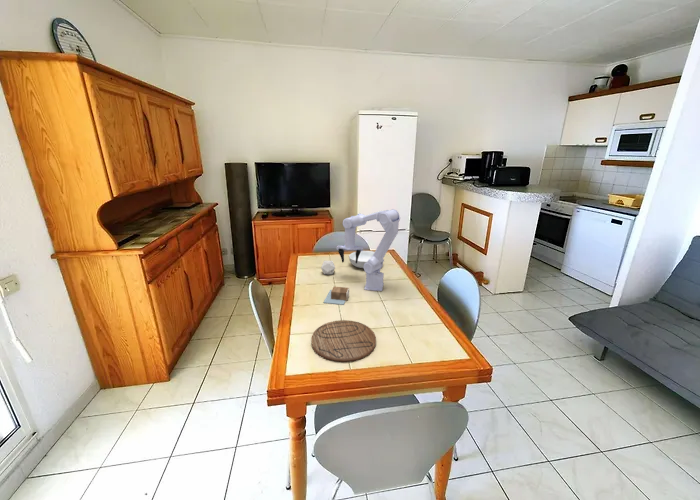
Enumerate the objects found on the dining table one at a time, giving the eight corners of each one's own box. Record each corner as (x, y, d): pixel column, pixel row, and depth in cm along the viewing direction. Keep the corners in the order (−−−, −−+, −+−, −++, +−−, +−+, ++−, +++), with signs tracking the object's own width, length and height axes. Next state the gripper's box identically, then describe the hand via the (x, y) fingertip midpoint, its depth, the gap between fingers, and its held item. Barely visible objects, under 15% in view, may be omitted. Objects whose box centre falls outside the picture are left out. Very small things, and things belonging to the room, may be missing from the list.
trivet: (386, 356, 109) (386, 351, 109) (318, 369, 103) (317, 364, 102) (363, 320, 132) (363, 316, 131) (306, 329, 125) (306, 325, 125)
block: (349, 287, 152) (333, 286, 153) (347, 293, 146) (331, 291, 148) (349, 294, 153) (333, 293, 155) (347, 300, 148) (331, 299, 149)
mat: (348, 292, 157) (348, 291, 157) (343, 304, 144) (343, 304, 144) (330, 290, 159) (330, 289, 159) (323, 303, 146) (323, 302, 146)
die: (329, 278, 175) (338, 264, 175) (317, 270, 175) (325, 256, 175) (330, 277, 183) (338, 264, 184) (318, 270, 183) (326, 257, 184)
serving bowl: (360, 258, 207) (360, 248, 205) (387, 264, 195) (387, 254, 193) (342, 266, 191) (342, 256, 189) (370, 274, 179) (370, 264, 177)
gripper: (335, 240, 162) (335, 263, 167) (362, 241, 160) (361, 265, 164) (338, 236, 169) (338, 259, 173) (363, 238, 167) (363, 261, 171)
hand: (349, 262), depth 169 cm, fingers open, 7 cm apart
